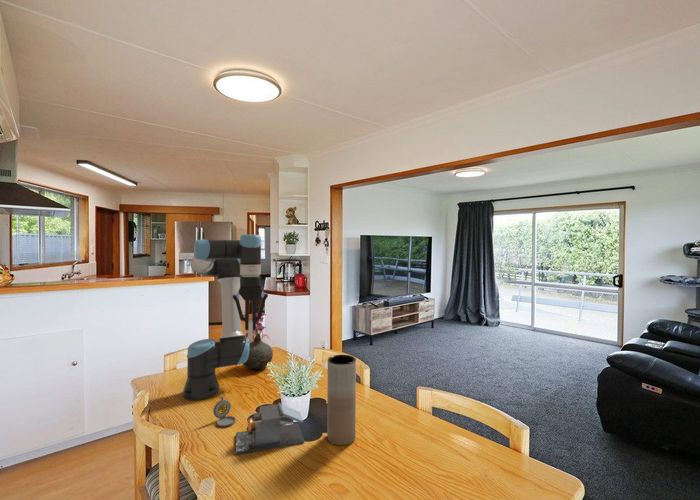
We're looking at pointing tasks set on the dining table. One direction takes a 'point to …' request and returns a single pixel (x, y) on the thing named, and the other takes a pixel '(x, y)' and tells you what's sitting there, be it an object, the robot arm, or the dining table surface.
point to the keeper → (290, 413)
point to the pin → (251, 423)
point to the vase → (258, 349)
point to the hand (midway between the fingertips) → (250, 338)
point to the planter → (341, 399)
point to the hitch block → (268, 433)
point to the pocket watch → (223, 420)
